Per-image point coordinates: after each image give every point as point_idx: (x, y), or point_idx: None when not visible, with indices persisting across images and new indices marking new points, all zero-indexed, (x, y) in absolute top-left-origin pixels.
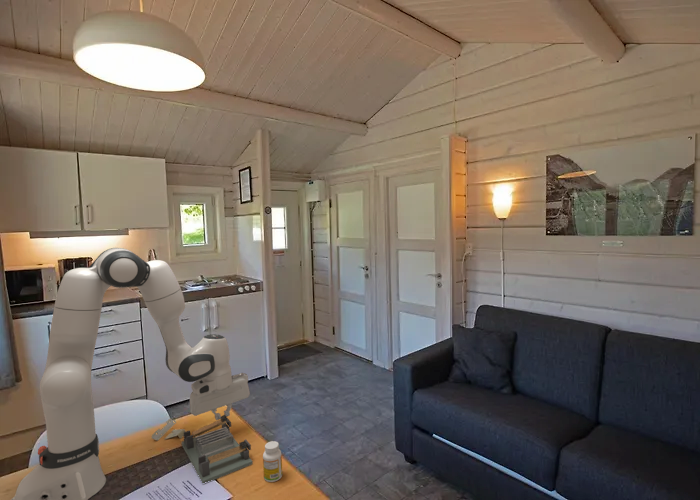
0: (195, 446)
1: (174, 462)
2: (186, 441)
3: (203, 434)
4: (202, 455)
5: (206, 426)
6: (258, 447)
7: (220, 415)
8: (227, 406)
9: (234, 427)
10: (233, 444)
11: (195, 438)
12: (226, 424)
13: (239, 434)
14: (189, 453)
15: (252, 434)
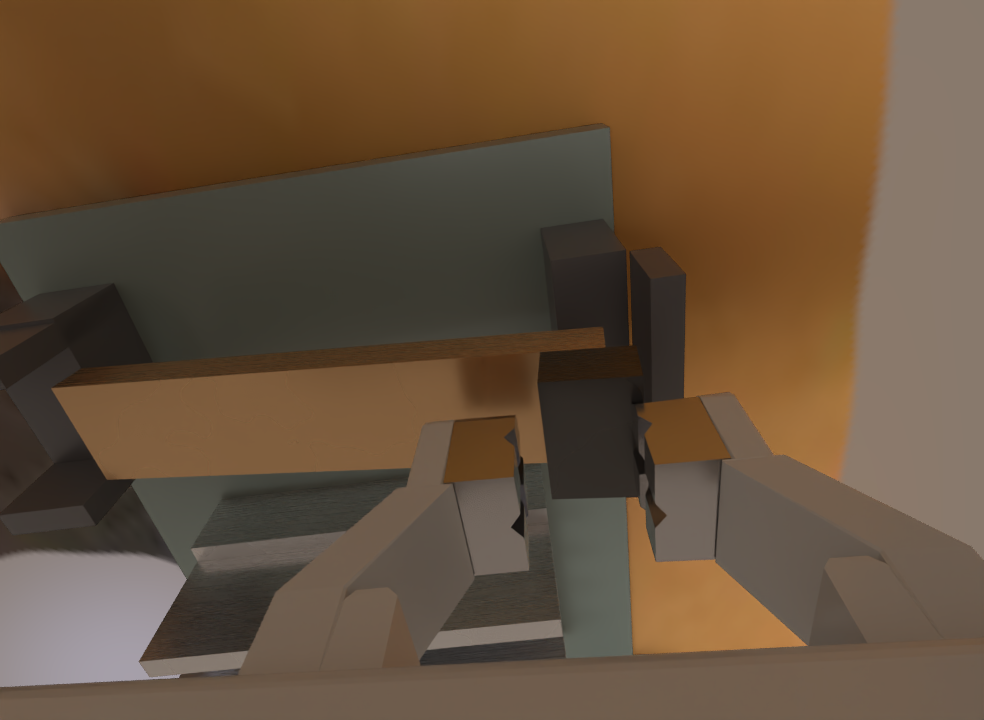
0: None
1: None
2: (48, 449)
3: (240, 656)
4: None
5: (275, 398)
6: (758, 612)
7: (528, 549)
8: (812, 523)
9: (741, 121)
10: None
11: (171, 239)
12: (619, 307)
13: (718, 343)
14: (159, 509)
15: (833, 413)
